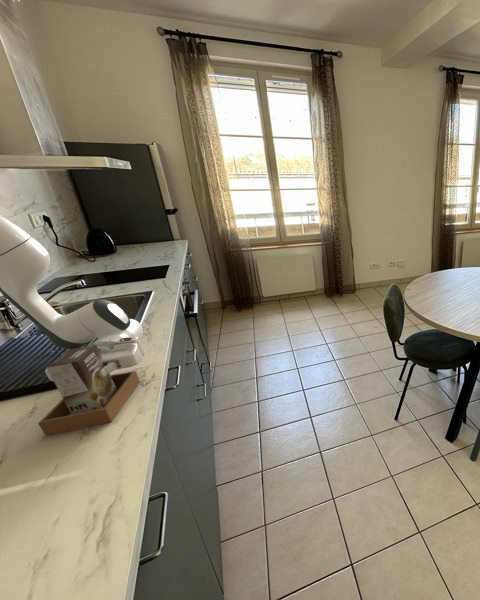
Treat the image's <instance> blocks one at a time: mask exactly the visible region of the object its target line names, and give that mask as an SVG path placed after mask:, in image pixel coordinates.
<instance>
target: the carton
mask: <svg viewBox="0 0 480 600" xmlns="http://www.w3.org/2000/svg"><path fill="white" fill-rule="evenodd" d="M110 376H111V378H112V380H113V382H114V384H115V386H116V389H117V392H116V393H115V394H114V395H113V397H112V398H111V399H110V400H109V402H108V403H107V404H106V406H105V407H104V408H101V409H96V410H92V411H87V412H82V413H77V414H73V415H72V414H71V412H70V410H69V409H68V407H67V405H66V403H65V401H64V399H63V398H62V399H61V400H60V401H59V402H58V403H57V404H56V405H55V406H54V407H53V408H52V409H51V410H50V411H49V412H48V413H46V415H45V416H43V418H42V419H41V420H40V421H38V423H37V425H38V426H39V428H40V429H41V431H42V433H43V434H44V436H45V437H48V436H54V435H57V434H62V433H63V434H64V433H67V432H71V431H76V430H80V429H81V430H82V429H84V428H85V429H86V428H90V427H95V426H100V425H104V424H108V423H112V422H113V421H114V419H115V418H116V417H117V415H118V414H119V412H120V411H121V410H122V408H123V407H124V405H126V403H127V401H128V400H129V398H130V397H131V396H132V395H133V393H134V392H135V390H136V389H137V388H138V385H140V383H141V379H140V378H139V376H138V373H137V370H132V371H126V372H122V373H118V374H110Z"/></svg>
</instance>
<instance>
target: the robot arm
mask: <svg viewBox="0 0 480 600" xmlns="http://www.w3.org/2000/svg"><path fill="white" fill-rule="evenodd" d="M50 266H51V257H50V254H49V252H48V250H47V249H46V247H44V246H43V245H42V244H41V243H40V242H38V240H36V239H35V238H34V237H33V236H31V235H30V234H28V233H27V232H26V231H25V230H23V229H22V228H20V227H19V226H18V225H17V224H15V223H13V222H12V221H11V220H9V219H7V218H6V217H4V216H2V215H0V293H1V295H2V296H3V297H4V298H5V299H6V300H8V301H9V302H10V304H12V305H13V306H14V307H15V308H16V309H17V310H18V311H20V312H21V313H22V314H23V315H24V317H26V318H27V319H29V320H30V321H31V323H33V324H34V325H36V326H37V328H38V329H40V330H41V331H42V332H43V334H44V335H45V336H46V338H47V339H48V340H49V341H50V342H51V343H52V344H53V345H54V346H56V347H59V348H63V349H67V350H70V349H77V348H80V347H84V346H85V345H86V344H87V345H88V343H90V342H91V341H93V340H94V341H93V342H92V343H91V344H90V345H89V346H92V345H97V347H98V350H99V352H100V354H101V356H102V358H103V363H105V365H106V366H105V367H104V368H102V369H98V370H97V371H96V373H95V374H96V375H97V378H100V377H105V376H106V375H107V374H108V373H110V374H111V373H112V372H114V371H116V370H117V371H118V370H122V369H127V368H132V367H135V366H138V365H139V364H140V362H141V361H142V360H143V358H144V357H145V351H144V349H143V346H142V344H141V340H142V338H143V335H144V328H143V325H142V324H141V323H140V322H139V321H137V320H135V319H133V318H130V316H129V315H128V313H127V312H126V310H125V309H124V308H123V307H122V306H120V305H119V304H118V303H115V302H113V301H111V300H107V299H96V300H94V301H92V302H90V303H88V304H85V305H84V306H81V307H80V308H78V309H76V310H74V311H72V312H70V313H68V314H60V313H59V312H58V311H57V310H55V308H53V307H52V306H51V305H50V303H48V302H47V301H46V299H44V298H43V297H42V296H41V295H40V294H39V292H38V290H37V289H38V288H37V286H38V284H39V283H40V281H41V280H42V279H43V277H44V276H45V274H46V273H47V272H48V270H49V268H50ZM95 339H96V340H95ZM44 372H45V375H46V376H47V379H49V380H50V381H51V382H54V381H53V379H52V377H51V375H50V373H49V371H48V369H47V368H45V371H44Z"/></svg>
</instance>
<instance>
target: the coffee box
mask: <svg viewBox="0 0 480 600" xmlns="http://www.w3.org/2000/svg"><path fill="white" fill-rule="evenodd" d="M105 366H106V365H105V363H103V358H102V356H101V354H100V352H99V350H98V347H97V345H92V346H90V345H86V346H82V347H80V348H77V349H67V351H65V352H64V353H62V354H61V355H59V356H58V357H57V358H55V359H54V360H53V361H52V362H50V363H49V364H47V366H45V369H48V371H49V373H50V375H51V377H52V379H53V381H52V382H53V383H54V384H55V386H56V388H57V390H58V391H59V394H60V396H61V398H62V399H64V401H65V403H66V405H67V407H68V409H69V410H70V412H71V413H70V415H73V414H77V413H82V412H87V411H92V410H96V409H101V408H104V407H105V406H106V404H107V403H108V402H109V400H110V399H111V398H112V397H113V395H114V394H115V393H116V392H117V390H118V388H116V386H115V384H114V382H113V380H112V378H111V372H110V373H108V374H107V375H106V376H105V377H100V378H97V375H96V374H95V373H96V371H97V370H98V369H102V368H104V367H105Z"/></svg>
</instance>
